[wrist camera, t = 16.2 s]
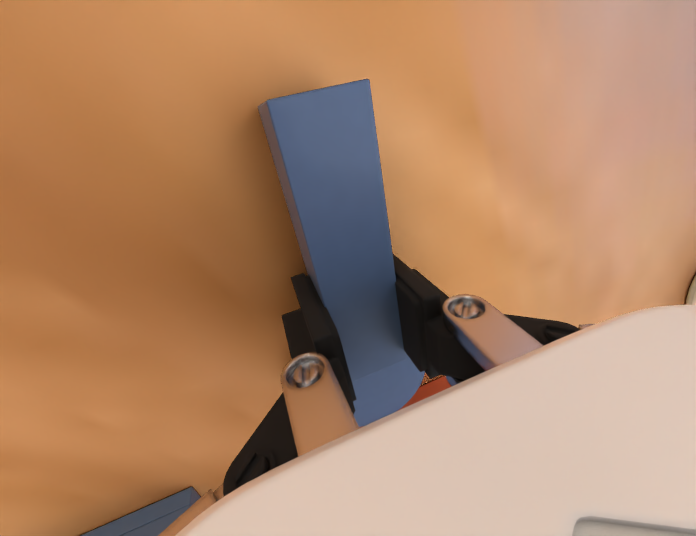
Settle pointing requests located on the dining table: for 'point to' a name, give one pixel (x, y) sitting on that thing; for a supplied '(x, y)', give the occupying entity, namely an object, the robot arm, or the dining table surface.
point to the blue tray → (150, 517)
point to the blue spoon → (345, 233)
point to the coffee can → (692, 293)
